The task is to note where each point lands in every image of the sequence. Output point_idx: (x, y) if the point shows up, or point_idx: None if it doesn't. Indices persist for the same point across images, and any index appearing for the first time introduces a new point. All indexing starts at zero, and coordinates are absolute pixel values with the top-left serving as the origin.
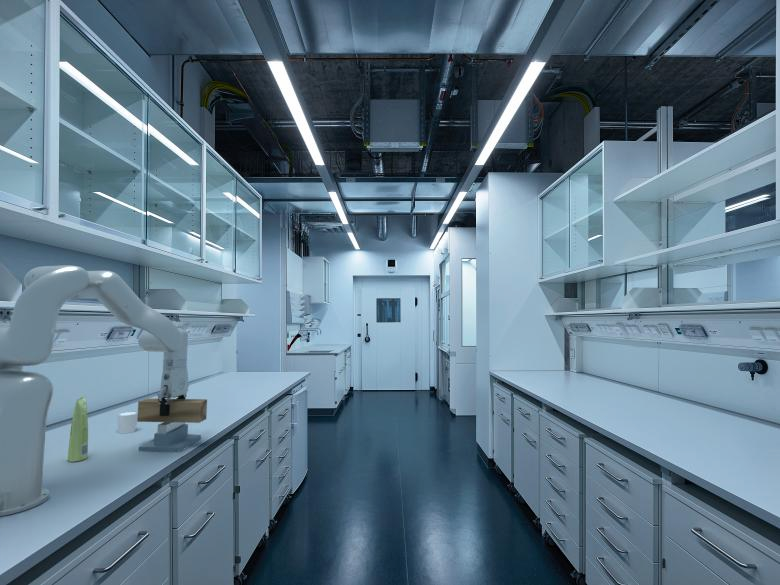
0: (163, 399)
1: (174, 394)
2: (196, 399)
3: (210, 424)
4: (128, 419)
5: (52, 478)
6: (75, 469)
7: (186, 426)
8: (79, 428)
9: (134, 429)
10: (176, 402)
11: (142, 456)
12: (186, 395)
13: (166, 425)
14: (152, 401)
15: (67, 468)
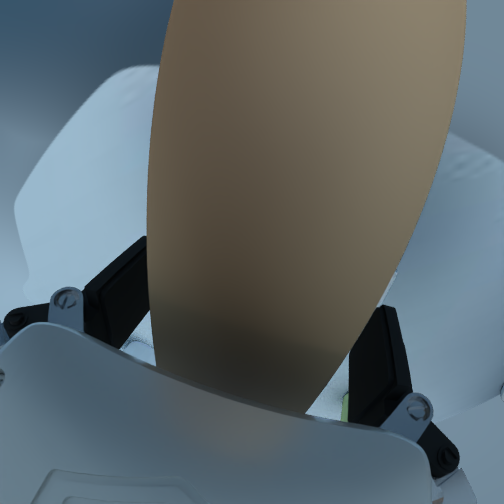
0: (455, 455)
1: (416, 471)
2: (176, 90)
3: (55, 145)
4: None
5: (461, 387)
6: (433, 379)
7: None
8: None
9: (140, 346)
10: (349, 350)
11: (413, 274)
12: (53, 294)
13: (396, 270)
14: None
15: (417, 391)
